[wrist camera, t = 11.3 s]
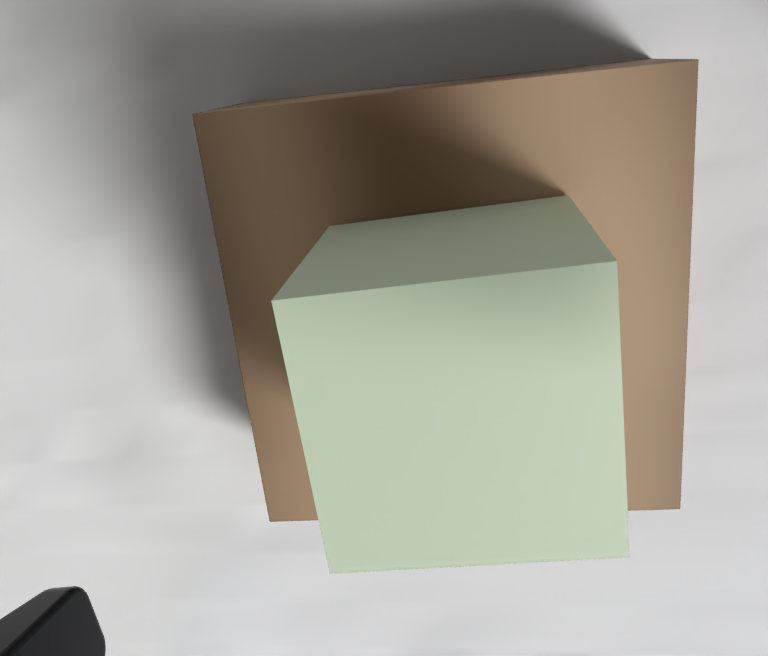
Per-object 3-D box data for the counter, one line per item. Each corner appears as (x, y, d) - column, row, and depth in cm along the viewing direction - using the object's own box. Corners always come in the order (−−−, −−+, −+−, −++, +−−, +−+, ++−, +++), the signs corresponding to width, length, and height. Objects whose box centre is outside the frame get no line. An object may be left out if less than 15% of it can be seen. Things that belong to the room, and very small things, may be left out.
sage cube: (582, 413, 16) (630, 557, 12) (366, 432, 17) (330, 573, 12) (568, 195, 15) (616, 261, 10) (329, 225, 15) (271, 301, 11)
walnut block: (647, 58, 17) (698, 59, 14) (640, 427, 21) (679, 508, 17) (246, 102, 19) (192, 114, 15) (301, 443, 22) (269, 521, 18)
